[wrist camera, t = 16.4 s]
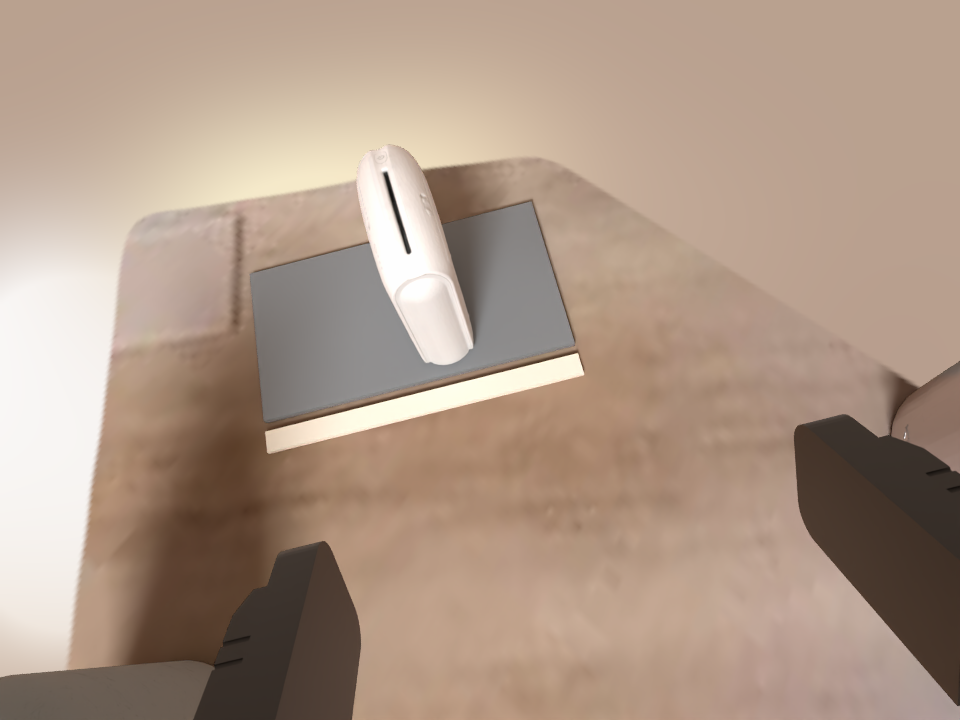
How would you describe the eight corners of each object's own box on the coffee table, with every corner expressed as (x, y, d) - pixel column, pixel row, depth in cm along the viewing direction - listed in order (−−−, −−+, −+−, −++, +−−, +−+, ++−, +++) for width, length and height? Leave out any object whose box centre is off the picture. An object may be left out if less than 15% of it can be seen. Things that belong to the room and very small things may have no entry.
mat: (531, 205, 50) (531, 201, 50) (583, 375, 44) (583, 372, 44) (252, 276, 51) (249, 273, 50) (269, 453, 45) (266, 452, 45)
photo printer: (388, 253, 49) (336, 141, 38) (443, 235, 49) (407, 118, 38) (423, 375, 45) (375, 290, 34) (482, 356, 45) (455, 265, 34)
